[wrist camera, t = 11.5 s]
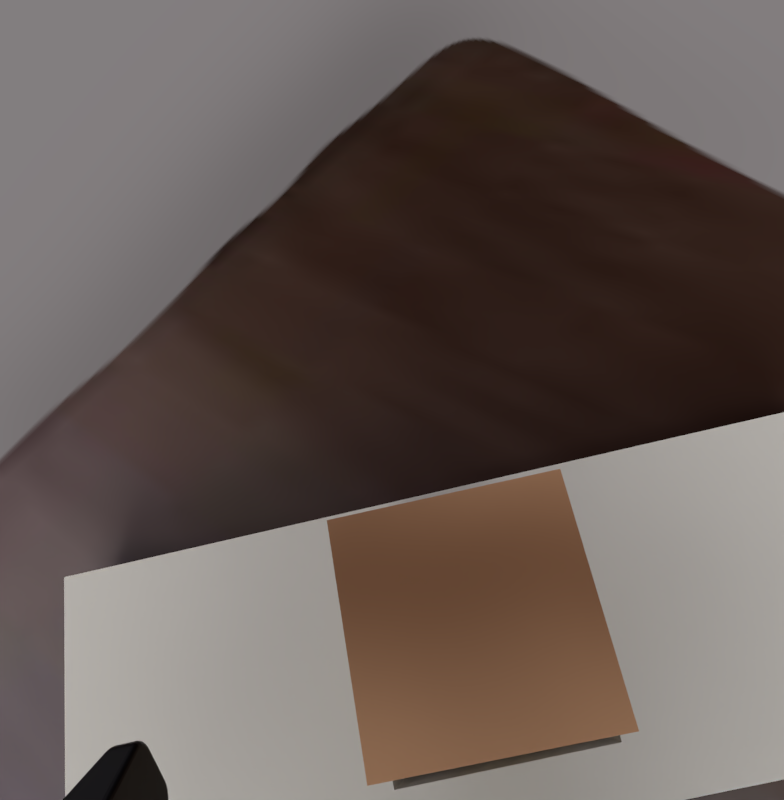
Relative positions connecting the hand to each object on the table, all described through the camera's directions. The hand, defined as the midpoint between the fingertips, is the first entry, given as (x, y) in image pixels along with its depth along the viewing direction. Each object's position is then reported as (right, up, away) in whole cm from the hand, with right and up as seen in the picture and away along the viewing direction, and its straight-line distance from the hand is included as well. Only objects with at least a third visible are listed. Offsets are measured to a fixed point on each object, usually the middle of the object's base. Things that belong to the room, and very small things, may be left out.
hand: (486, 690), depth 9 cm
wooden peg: (+2, -4, +13) cm, 14 cm away
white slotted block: (+2, -4, +13) cm, 14 cm away
